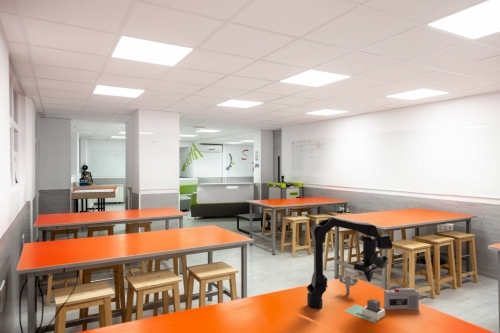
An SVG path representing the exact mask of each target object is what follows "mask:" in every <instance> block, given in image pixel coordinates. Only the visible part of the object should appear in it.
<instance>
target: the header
mask: <svg viewBox="0 0 500 333" xmlns="http://www.w3.org/2000/svg"><path fill="white" fill-rule="evenodd" d="M363 307H364V308H362V314H363V315H366V316H368V317H371V318H375V319H377V320H378V319H380V318H381V317H383V316H384V315H386V309H385V308H382V307H380V311H379V312H378V313H376V312H373V311H370V310H367V305H365V306H363ZM384 317H385V316H384ZM384 317H383V318H384ZM381 319H382V318H381ZM381 319H380V320H381ZM378 321H379V320H378Z"/></svg>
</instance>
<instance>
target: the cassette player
mask: <svg viewBox="0 0 500 333" xmlns="http://www.w3.org/2000/svg"><path fill="white" fill-rule="evenodd" d="M419 297H420V292H419V291H418V290H417V289H416V288H414V287H407V288H394V289H389V290H388V289H386V290H385V289H384V290H383V307H384V308H383V309H385V310H387V311H389V310H391V311H393V310H394V311H395V310H416V311H419V310H420V302H419V301H420V298H419Z"/></svg>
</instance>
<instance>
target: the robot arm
mask: <svg viewBox="0 0 500 333" xmlns="http://www.w3.org/2000/svg"><path fill="white" fill-rule="evenodd" d="M335 227H336V228H337V227H338V228H342V229H347V230H351V231H354V232H355V231H356V232H358V233H360V234H361V236H359V237H358V240H359V241H361V242H362V249H363V250H361V252H360V253H361V254H362V259H361V260H360V261H358V262H355V263H354V264H353V270H355V271H360V272H363V274H364V276H365V279H366V281H367V282H369V283H371V282H372V279H373V275H374V272H375V271H376V270H377V269H378V268H379V269H382V270H383V269H385V268H387V265H389V263H390V262H389V257H388V256H387V255H384V256H380V255H379V253H378V251H376V249H378V250H392V249H393V243H392V239H391V236H390V235H389V234H383V235H380V233H379V232H378V228H377V226H376V225H374V224H372V223H369V222H354V221H351V220H346V219H341V218H336V217H334V216H330V217H328V218H327V219H324V220H322V221H320V222H318V223H315V224H313V225H312V226H311V227H310V235H311V238H312V239H311V240H312V242H313V273H312V277H311V281H310V283H309V285H308V286H306V289H307V292H308V293H307V294H306V295H307V297H306V299H307V301H306V302H307V306H308V307H309V308H311V309H313V310H314V309H316V310H321V309H323V295H324V293H325V292H326V291H327V288H328V278H327V277H326V275H325V274H324V242H325V239H326V235H327V233H329V232H330V231H331V230H332V229H333V228H335Z"/></svg>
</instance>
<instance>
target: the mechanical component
mask: <svg viewBox="0 0 500 333" xmlns="http://www.w3.org/2000/svg"><path fill="white" fill-rule="evenodd" d="M338 278H339V279H338V280H339V282H340V283H342V284H343V285H345V289H346V291H345V292H346V295H350V288H351V287H353V286H356V285H357V283H358V282H359V281H358V278H357V277H354V276H351V275H345V276H344V275H343V274H338Z"/></svg>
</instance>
